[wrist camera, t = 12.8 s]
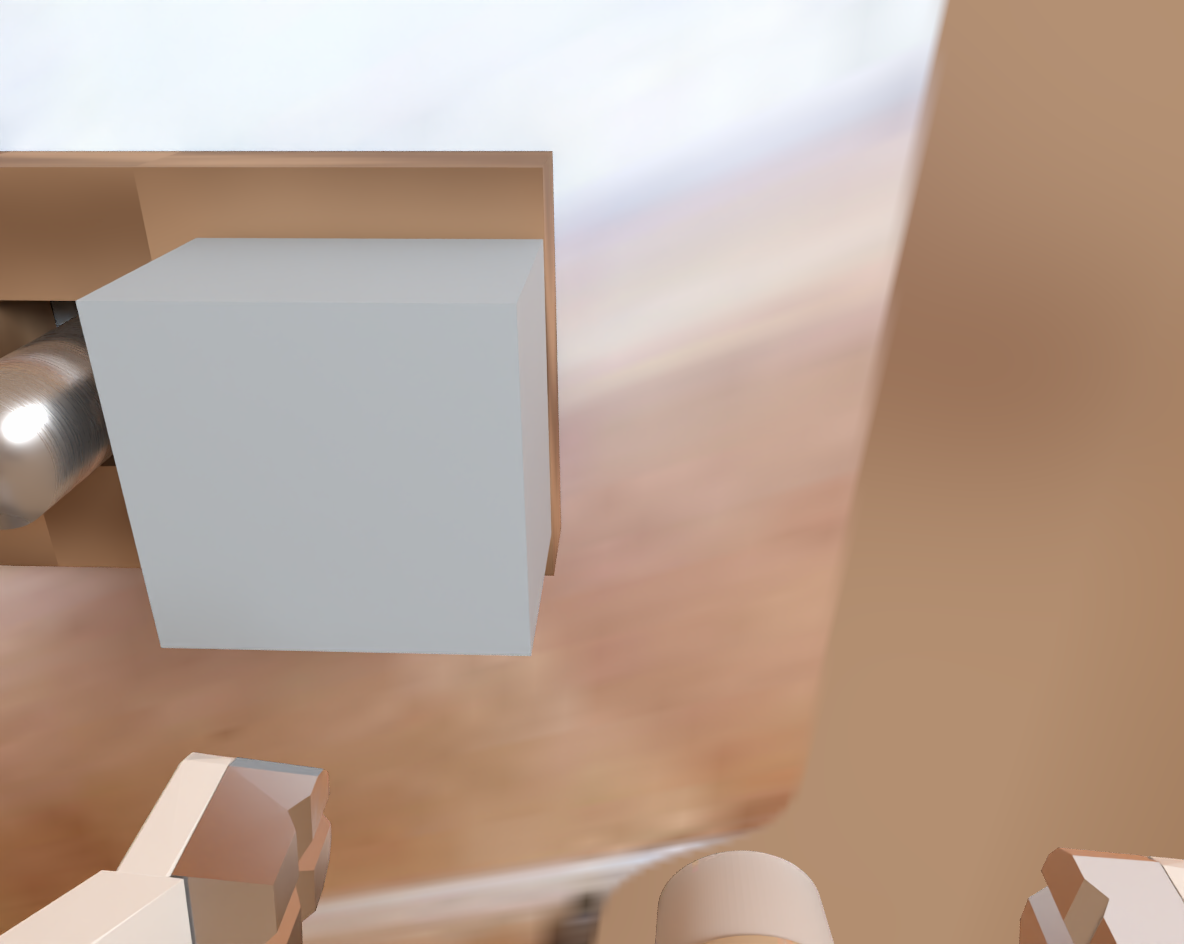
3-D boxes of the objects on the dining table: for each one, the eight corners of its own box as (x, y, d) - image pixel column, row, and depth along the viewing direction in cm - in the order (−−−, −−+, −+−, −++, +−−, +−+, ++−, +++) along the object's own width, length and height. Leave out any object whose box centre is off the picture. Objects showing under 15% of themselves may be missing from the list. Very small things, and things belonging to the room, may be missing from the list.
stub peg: (205, 407, 31) (71, 530, 23) (95, 406, 31) (-71, 529, 24) (182, 297, 29) (32, 393, 22) (67, 296, 29) (-121, 392, 22)
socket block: (560, 527, 32) (553, 575, 29) (35, 518, 33) (-20, 564, 30) (552, 151, 27) (542, 167, 24) (-74, 151, 27) (-152, 167, 25)
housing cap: (551, 533, 28) (531, 656, 23) (250, 528, 28) (161, 647, 23) (543, 239, 24) (516, 303, 19) (195, 237, 25) (75, 301, 19)
